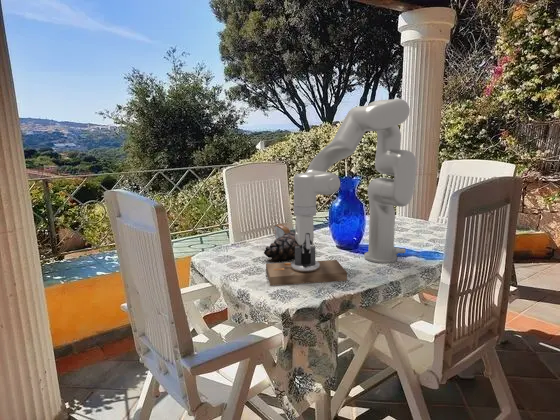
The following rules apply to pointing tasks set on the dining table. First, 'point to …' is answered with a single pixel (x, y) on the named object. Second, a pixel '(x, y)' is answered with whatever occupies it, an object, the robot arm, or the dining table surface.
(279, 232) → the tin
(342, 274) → the brown wooden board
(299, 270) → the dial knob
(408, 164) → the robot arm
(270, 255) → the pine cone
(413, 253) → the dining table surface
